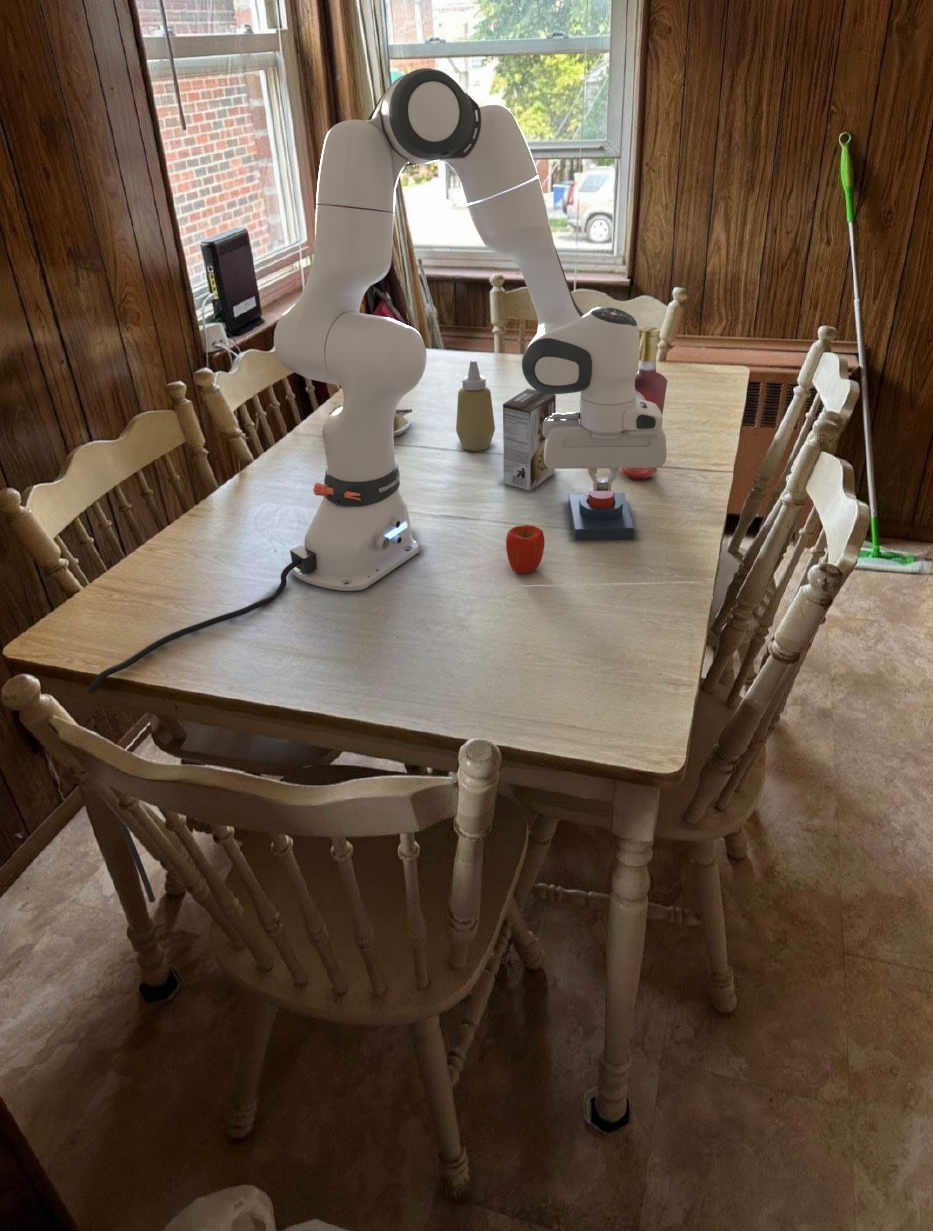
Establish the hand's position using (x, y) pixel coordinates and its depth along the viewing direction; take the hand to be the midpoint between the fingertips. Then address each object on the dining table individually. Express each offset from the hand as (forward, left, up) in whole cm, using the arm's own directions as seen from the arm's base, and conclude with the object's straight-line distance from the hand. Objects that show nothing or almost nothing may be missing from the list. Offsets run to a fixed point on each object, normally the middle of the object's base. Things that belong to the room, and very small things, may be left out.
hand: (601, 489), depth 151 cm
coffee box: (+12, +18, -7) cm, 23 cm away
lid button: (+1, 0, -3) cm, 3 cm away
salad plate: (+21, +60, -7) cm, 64 cm away
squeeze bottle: (+22, +34, -7) cm, 41 cm away
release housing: (+1, 0, -7) cm, 7 cm away
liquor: (+21, -1, -7) cm, 22 cm away
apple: (-19, +6, -7) cm, 21 cm away
